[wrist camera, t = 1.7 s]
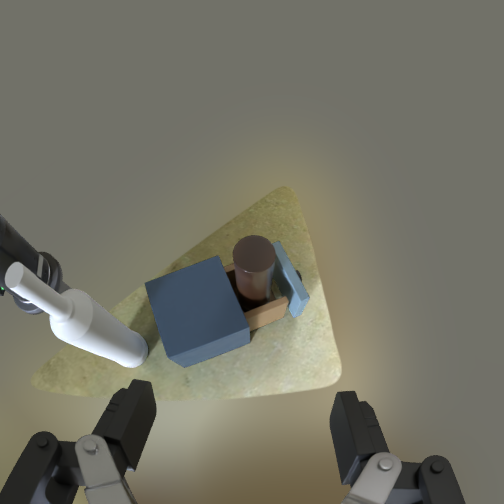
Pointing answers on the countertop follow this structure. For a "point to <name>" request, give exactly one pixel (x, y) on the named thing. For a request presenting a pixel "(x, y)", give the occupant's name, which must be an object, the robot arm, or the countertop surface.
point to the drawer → (288, 287)
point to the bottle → (80, 319)
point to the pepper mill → (253, 271)
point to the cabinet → (197, 313)
